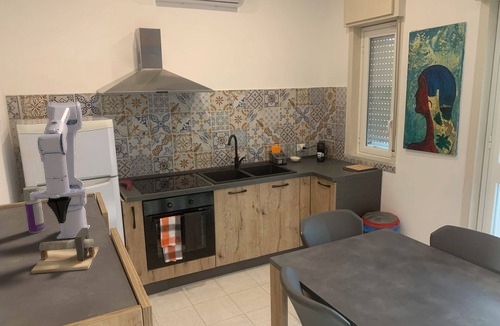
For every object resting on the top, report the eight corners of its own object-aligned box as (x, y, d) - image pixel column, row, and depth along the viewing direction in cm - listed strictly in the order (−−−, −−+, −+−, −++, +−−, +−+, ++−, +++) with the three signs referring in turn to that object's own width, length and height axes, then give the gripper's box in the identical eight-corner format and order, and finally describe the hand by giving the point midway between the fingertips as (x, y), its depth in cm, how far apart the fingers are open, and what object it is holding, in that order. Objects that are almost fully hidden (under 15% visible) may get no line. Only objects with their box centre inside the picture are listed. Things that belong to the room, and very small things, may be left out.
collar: (84, 249, 107) (81, 227, 105) (90, 249, 107) (87, 227, 106) (77, 260, 100) (74, 237, 99) (83, 260, 101) (81, 237, 99)
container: (26, 231, 123) (19, 188, 120) (39, 226, 127) (33, 185, 124) (34, 234, 121) (28, 190, 117) (48, 229, 125) (42, 186, 121)
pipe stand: (48, 252, 108) (46, 234, 106) (98, 249, 110) (96, 230, 108) (31, 273, 96) (28, 252, 95) (88, 268, 98) (85, 248, 97)
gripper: (22, 181, 98) (29, 229, 101) (79, 178, 100) (85, 225, 103) (33, 175, 105) (39, 219, 108) (86, 172, 107) (91, 216, 110)
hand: (62, 222), depth 106 cm, fingers closed
